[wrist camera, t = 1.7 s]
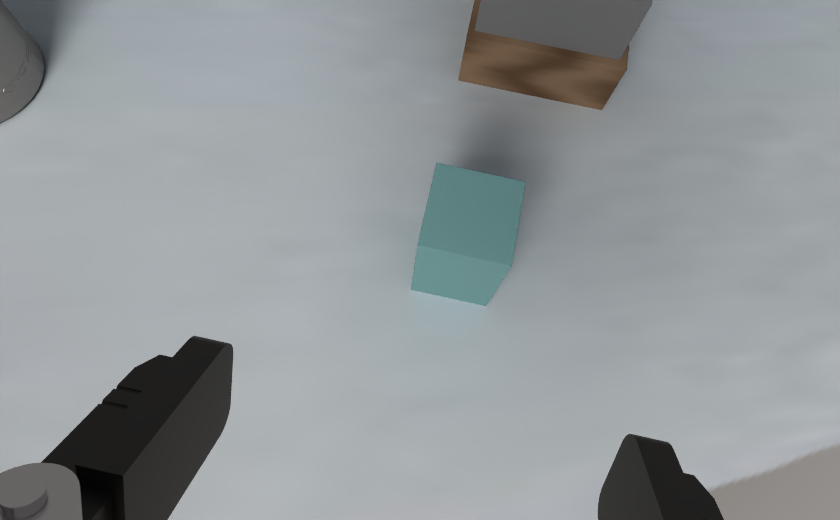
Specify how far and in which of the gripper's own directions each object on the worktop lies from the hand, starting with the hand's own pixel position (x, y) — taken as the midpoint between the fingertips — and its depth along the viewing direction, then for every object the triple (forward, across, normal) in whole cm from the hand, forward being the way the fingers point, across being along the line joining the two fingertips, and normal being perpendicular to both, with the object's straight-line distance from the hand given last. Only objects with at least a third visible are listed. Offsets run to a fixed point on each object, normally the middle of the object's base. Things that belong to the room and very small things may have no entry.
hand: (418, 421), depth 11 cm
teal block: (+25, -1, +8) cm, 27 cm away
